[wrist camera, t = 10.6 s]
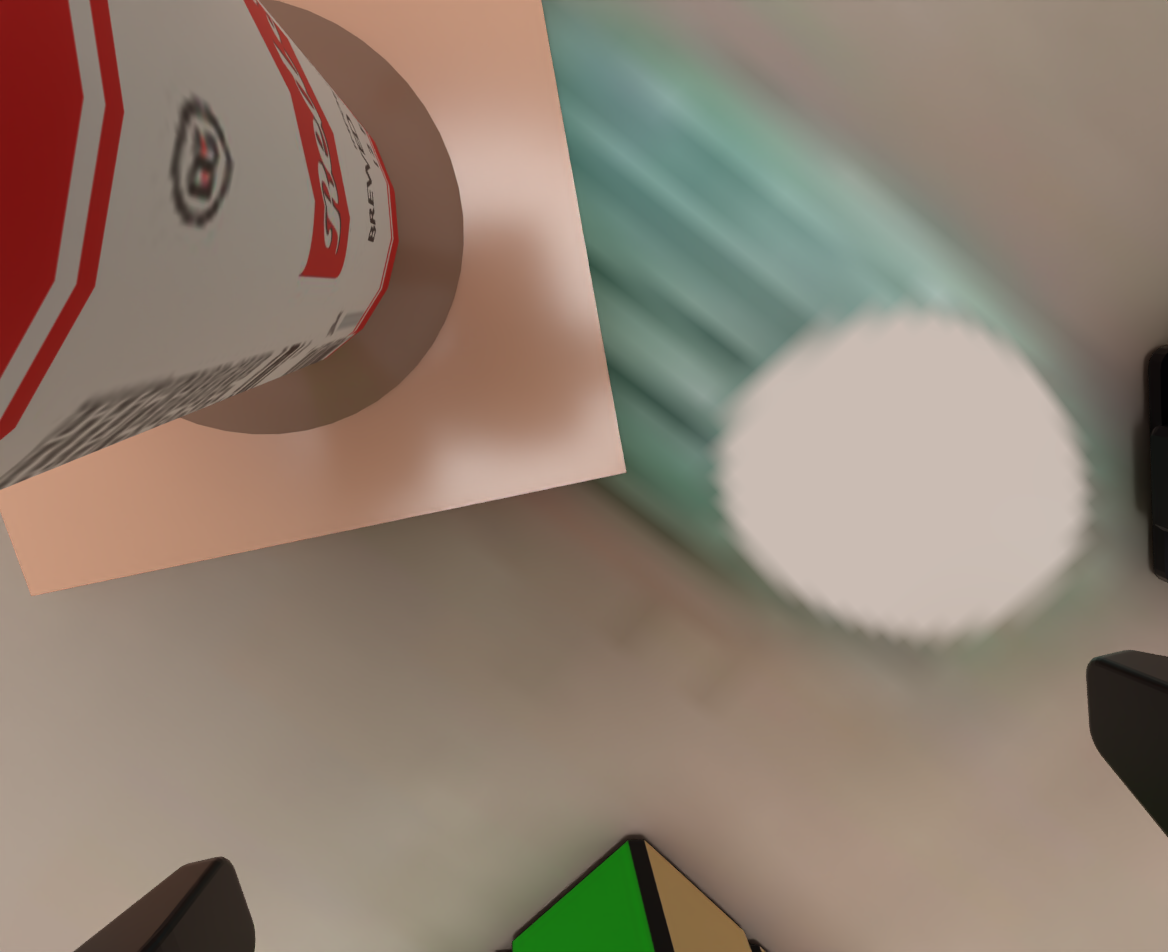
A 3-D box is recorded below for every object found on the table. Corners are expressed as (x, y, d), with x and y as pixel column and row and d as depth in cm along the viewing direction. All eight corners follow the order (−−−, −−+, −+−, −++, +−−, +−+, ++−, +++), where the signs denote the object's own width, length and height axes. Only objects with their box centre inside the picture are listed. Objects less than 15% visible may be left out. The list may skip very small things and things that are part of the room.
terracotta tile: (505, -176, 18) (506, -200, 17) (621, 465, 21) (626, 473, 20) (-185, -64, 17) (-222, -84, 16) (49, 584, 20) (29, 597, 19)
